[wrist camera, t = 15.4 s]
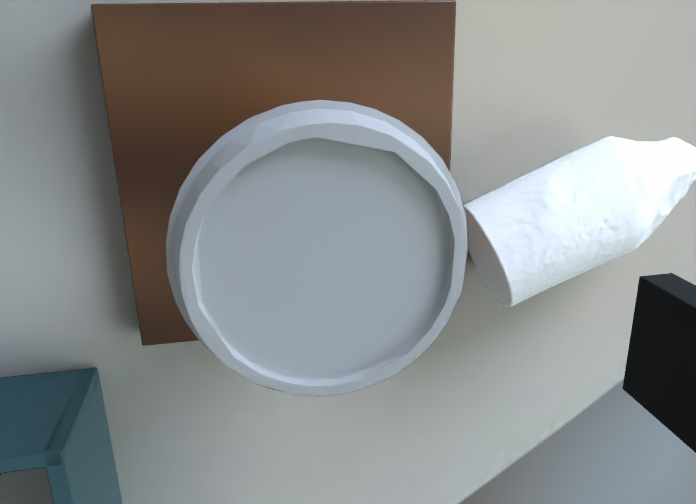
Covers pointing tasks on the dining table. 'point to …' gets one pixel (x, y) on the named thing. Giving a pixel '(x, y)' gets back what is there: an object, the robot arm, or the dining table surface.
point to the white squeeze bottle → (575, 213)
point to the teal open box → (59, 434)
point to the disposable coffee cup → (317, 247)
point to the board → (249, 96)
